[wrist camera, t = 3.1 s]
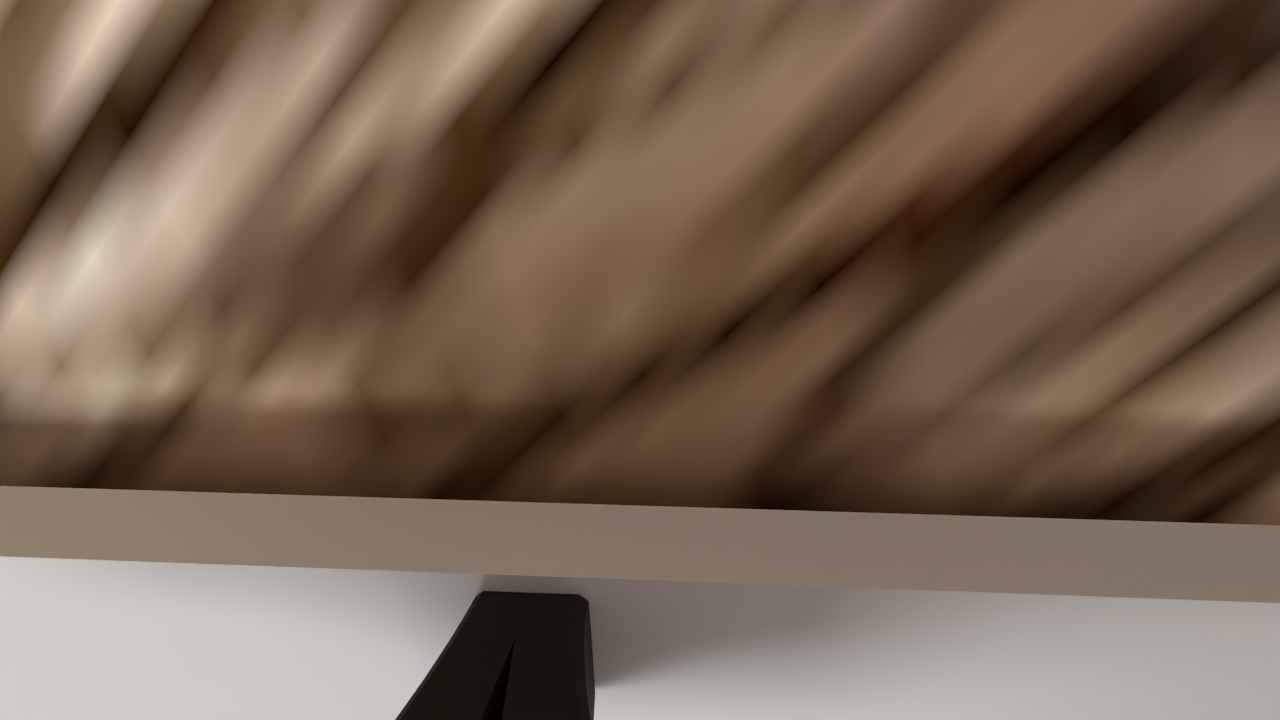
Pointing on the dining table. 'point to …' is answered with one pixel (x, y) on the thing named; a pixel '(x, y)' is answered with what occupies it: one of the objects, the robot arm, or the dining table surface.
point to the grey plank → (628, 608)
